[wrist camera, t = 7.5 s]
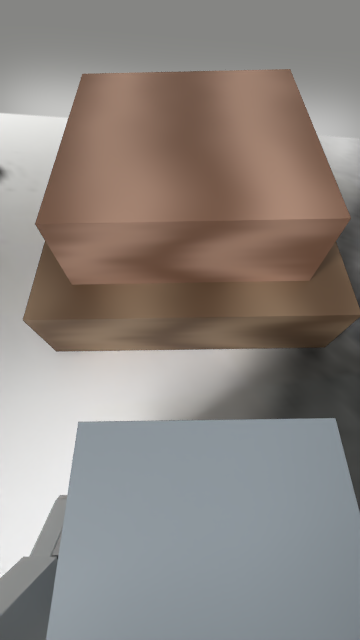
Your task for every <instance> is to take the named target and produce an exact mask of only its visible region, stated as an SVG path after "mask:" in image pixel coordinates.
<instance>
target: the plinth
mask: <svg viewBox="0 0 360 640" xmlns="http://www.w3.org/2000/svg"><path fill="white" fill-rule="evenodd" d="M350 219H351V217H350V215H349V212H348V210H347V207H346V205H345V202H344V200H343V198H342V195H341V193H340V190H339V188H338V185H337V183H336V180H335V178H334V176H333V173H332V171H331V168H330V166H329V163H328V161H327V158H326V156H325V154H324V151H323V149H322V146H321V144H320V141H319V139H318V136H317V134H316V131H315V129H314V127H313V124H312V122H311V119H310V117H309V114H308V112H307V109H306V107H305V105H304V102H303V100H302V97H301V95H300V92H299V90H298V87H297V85H296V83H295V80H294V78H293V75H292V73H291V70H290V69H282V70H236V71H193V72H192V71H191V72H148V73H147V72H146V73H102V74H101V73H100V74H82V77H81V81H80V84H79V87H78V90H77V93H76V96H75V99H74V102H73V106H72V109H71V112H70V115H69V118H68V121H67V125H66V128H65V131H64V134H63V137H62V140H61V144H60V147H59V150H58V153H57V156H56V160H55V163H54V166H53V169H52V172H51V175H50V179H49V182H48V185H47V188H46V191H45V194H44V198H43V201H42V204H41V207H40V210H39V213H38V217H37V220H36V223H35V225H36V226H37V228H38V230H39V231H40V233H41V235H42V236H43V238H44V239H45V243H44V247H43V250H42V254H41V257H40V261H39V264H38V268H37V271H36V275H35V278H34V282H33V286H32V289H31V293H30V296H29V300H28V303H27V307H26V310H25V314H24V318H23V321H24V322H25V323H26V324H27V325H28V326H30V327H31V328H32V329H33V330H34V331H35V332H36V333H37V334H38V335H39V336H40V337H41V338H43V339H44V340H45V341H46V342H47V343H48V344H49V345H50V346H51V347H52V348H53V349H54V350H55V351H117V350H184V349H252V348H320V347H326V346H327V345H328V344H329V343H330V342H331V341H333V340H334V339H335V338H336V337H337V336H338V335H340V334H341V333H342V332H343V331H344V330H345V329H346V328H348V327H349V326H350V325H351V324H352V323H353V322H354V321H356V320H357V319H358V318H359V317H360V308H359V305H358V302H357V299H356V297H355V294H354V291H353V288H352V285H351V283H350V280H349V277H348V274H347V271H346V268H345V266H344V263H343V260H342V257H341V254H340V252H339V249H338V246H337V243H336V240H337V239H338V237H339V236H340V234H341V233H342V231H343V230H344V228H345V227H346V225H347V224H348V222H349V221H350Z"/></svg>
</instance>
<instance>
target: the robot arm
mask: <svg viewBox="0 0 360 640" xmlns="http://www.w3.org/2000/svg"><path fill="white" fill-rule="evenodd" d="M66 502H67V495H60V496H59V497H58V498H57V500H56V501H55V503H54V505H53V507H52V509H51V511H50V513H49V516H48V518H47V520H46V522H45V524H44V526H43V528H42V530H41V533H40V535H39V537H38V539H37V541H36V543H35V545H34V548H33V550H32V552H31V554H30V556H29V557H23V558H22V559H21V560H19V561H18V562H17V563H16V564H15V565H14V566H13V567H12V568H11V569H10V570H9V571H8V572H7V573H5V574H4V575H3V576H2V577H1V578H0V640H46V637H47V630H48V623H49V616H50V610H51V603H52V596H53V589H54V583H55V576H56V569H57V563H58V556H59V549H60V542H61V536H62V529H63V522H64V515H65V509H66Z"/></svg>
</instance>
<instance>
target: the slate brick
mask: <svg viewBox="0 0 360 640" xmlns="http://www.w3.org/2000/svg"><path fill="white" fill-rule="evenodd" d="M46 640H360V512H359V508H358V504H357V500H356V496H355V493H354V489H353V485H352V481H351V477H350V473H349V469H348V465H347V461H346V457H345V454H344V450H343V446H342V442H341V438H340V434H339V430H338V426H337V422H336V418H314V419H244V420H174V421H104V422H78V428H77V435H76V441H75V448H74V455H73V462H72V468H71V475H70V482H69V488H68V495H67V502H66V509H65V515H64V522H63V529H62V536H61V542H60V549H59V556H58V563H57V569H56V576H55V583H54V589H53V596H52V603H51V610H50V616H49V623H48V630H47V637H46Z"/></svg>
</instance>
